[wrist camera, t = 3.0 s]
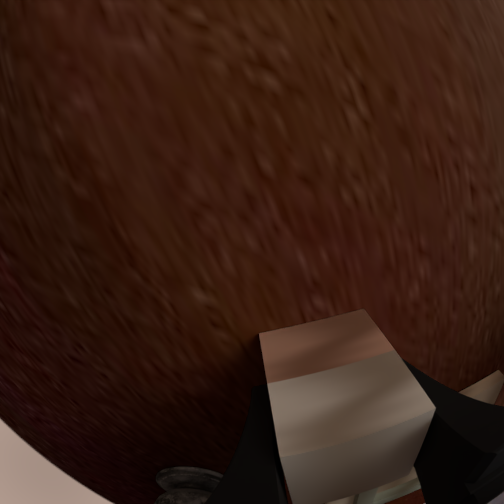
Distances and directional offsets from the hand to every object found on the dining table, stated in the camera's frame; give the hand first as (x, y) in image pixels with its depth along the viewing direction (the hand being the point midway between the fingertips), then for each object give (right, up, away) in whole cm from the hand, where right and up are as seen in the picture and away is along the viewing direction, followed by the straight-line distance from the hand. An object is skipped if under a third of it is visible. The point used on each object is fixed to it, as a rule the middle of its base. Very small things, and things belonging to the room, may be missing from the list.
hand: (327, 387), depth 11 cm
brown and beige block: (0, +1, +2) cm, 2 cm away
